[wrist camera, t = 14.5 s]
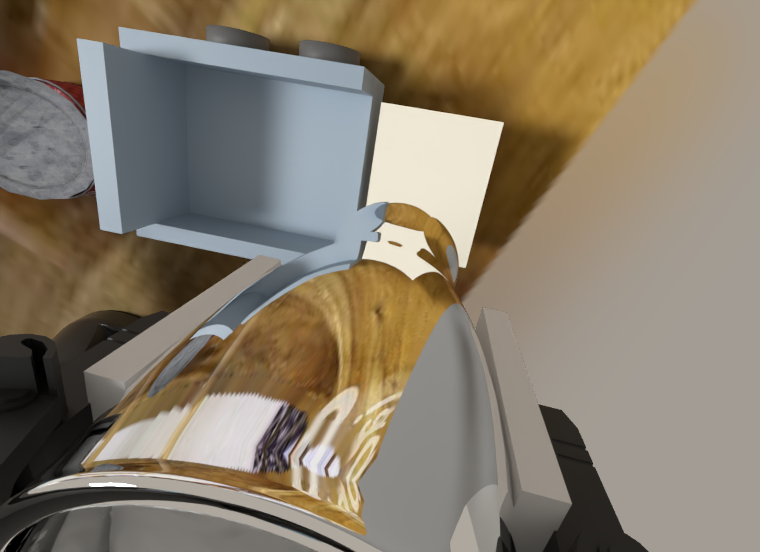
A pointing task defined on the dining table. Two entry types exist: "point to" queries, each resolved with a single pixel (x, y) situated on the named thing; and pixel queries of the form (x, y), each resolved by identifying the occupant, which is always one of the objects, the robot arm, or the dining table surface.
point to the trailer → (229, 139)
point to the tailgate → (435, 166)
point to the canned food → (44, 138)
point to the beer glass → (299, 419)
